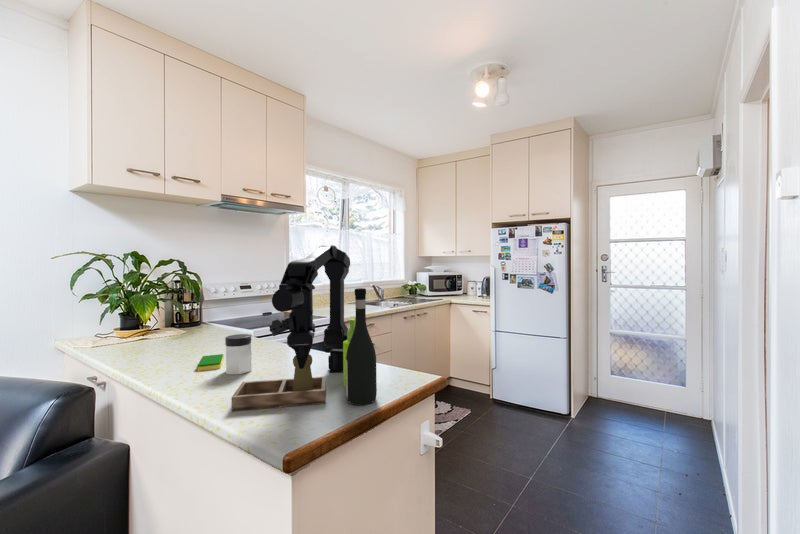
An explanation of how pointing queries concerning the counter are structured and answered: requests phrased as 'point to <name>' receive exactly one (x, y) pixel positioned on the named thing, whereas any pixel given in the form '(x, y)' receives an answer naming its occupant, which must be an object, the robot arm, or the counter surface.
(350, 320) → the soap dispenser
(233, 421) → the counter surface
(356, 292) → the wine bottle
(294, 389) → the cork
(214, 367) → the dish sponge
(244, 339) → the jar
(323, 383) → the holder
